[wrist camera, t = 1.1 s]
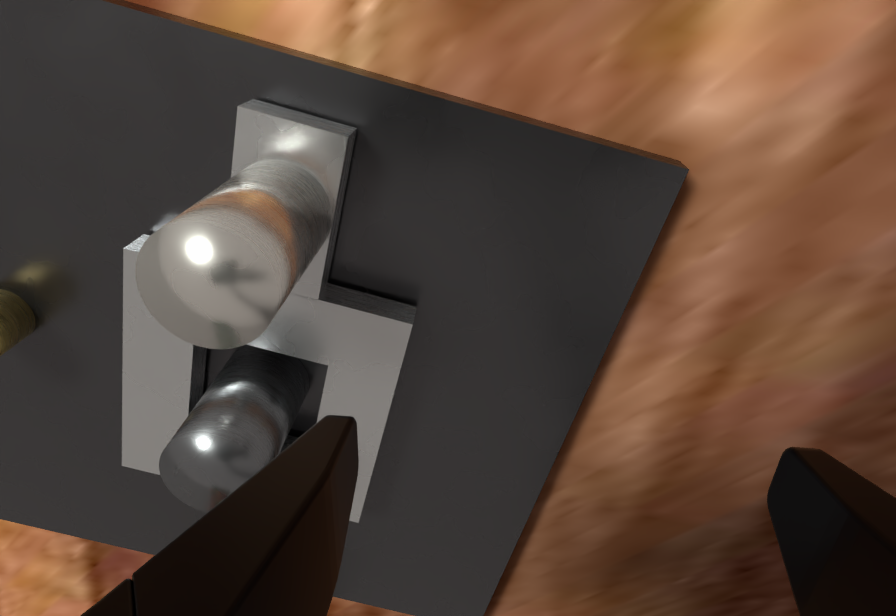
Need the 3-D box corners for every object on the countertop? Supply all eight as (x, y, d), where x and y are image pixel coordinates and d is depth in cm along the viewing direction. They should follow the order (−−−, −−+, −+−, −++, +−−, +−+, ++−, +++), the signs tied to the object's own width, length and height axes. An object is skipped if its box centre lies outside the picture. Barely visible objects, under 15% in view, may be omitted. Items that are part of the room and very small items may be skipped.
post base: (477, 610, 28) (473, 751, 23) (5, 499, 27) (-114, 622, 22) (679, 160, 18) (755, 230, 13) (-61, -54, 17) (-315, -74, 12)
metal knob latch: (364, 499, 24) (325, 652, 18) (138, 444, 23) (27, 585, 18) (458, 156, 17) (441, 234, 12) (148, 69, 17) (-23, 106, 11)
